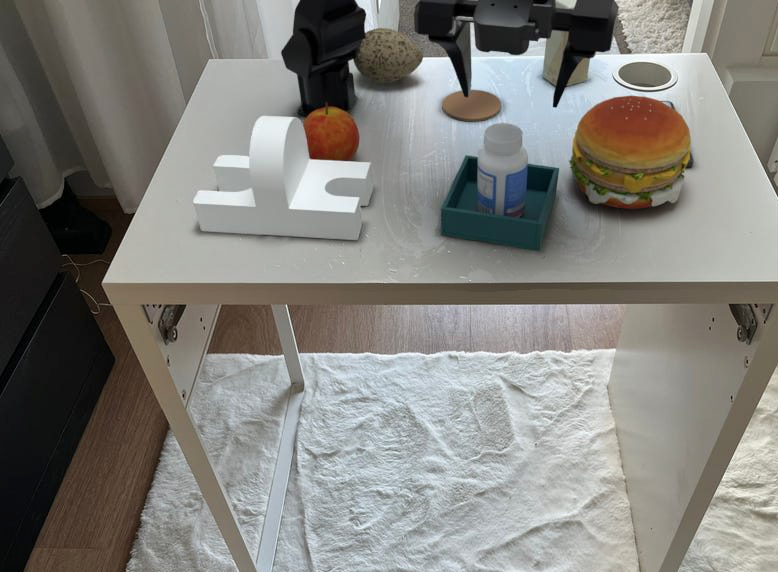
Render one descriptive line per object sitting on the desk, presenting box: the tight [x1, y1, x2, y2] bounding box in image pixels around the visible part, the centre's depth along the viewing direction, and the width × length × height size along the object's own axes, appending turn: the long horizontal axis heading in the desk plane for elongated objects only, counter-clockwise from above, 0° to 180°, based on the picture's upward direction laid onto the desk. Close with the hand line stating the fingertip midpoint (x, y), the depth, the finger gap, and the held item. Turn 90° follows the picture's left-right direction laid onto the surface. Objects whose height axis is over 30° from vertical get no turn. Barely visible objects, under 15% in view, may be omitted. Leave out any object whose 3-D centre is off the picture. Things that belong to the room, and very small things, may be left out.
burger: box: [568, 95, 692, 210], centre depth 87 cm, size 13×14×10 cm
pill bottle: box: [477, 122, 529, 218], centre depth 84 cm, size 6×5×10 cm
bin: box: [440, 154, 560, 251], centre depth 86 cm, size 11×11×4 cm
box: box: [542, 0, 591, 87], centre depth 105 cm, size 5×4×11 cm
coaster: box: [441, 89, 502, 122], centre depth 104 cm, size 8×8×1 cm
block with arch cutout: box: [192, 115, 374, 241], centre depth 85 cm, size 18×10×11 cm, turn 83°
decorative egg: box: [352, 27, 424, 84], centre depth 107 cm, size 7×7×10 cm
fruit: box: [302, 102, 360, 161], centre depth 92 cm, size 7×7×8 cm
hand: (510, 100), depth 79 cm, fingers open, 9 cm apart
